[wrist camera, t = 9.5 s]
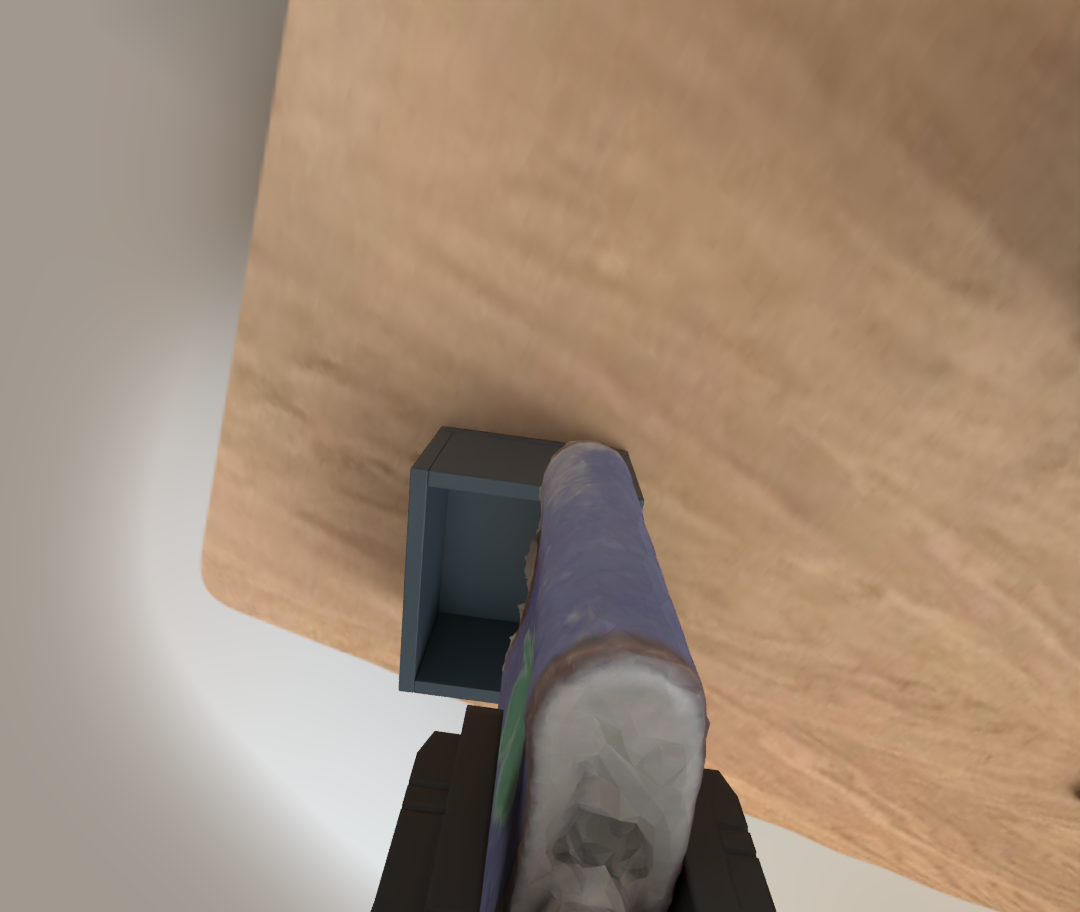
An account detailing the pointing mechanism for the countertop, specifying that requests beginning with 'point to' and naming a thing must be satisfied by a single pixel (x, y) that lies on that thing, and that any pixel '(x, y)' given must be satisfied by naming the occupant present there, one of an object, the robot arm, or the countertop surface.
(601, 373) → the countertop surface
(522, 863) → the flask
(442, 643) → the box
